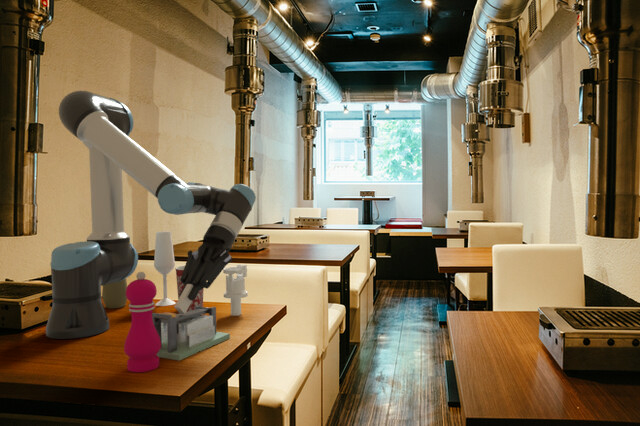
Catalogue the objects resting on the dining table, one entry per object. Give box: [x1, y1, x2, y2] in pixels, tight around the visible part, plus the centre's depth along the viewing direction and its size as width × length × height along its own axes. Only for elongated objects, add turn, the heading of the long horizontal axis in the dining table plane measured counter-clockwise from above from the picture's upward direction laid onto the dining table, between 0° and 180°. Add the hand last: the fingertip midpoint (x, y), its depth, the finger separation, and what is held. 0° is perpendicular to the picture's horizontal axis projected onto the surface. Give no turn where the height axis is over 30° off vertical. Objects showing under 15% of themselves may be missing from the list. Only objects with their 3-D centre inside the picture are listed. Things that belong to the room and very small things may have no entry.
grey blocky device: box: [152, 305, 217, 353], centre depth 115 cm, size 16×9×8 cm, turn 154°
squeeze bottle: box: [101, 278, 128, 309], centre depth 159 cm, size 8×8×18 cm
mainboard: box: [156, 331, 231, 361], centre depth 116 cm, size 18×11×1 cm, turn 154°
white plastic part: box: [222, 264, 248, 317], centre depth 146 cm, size 7×7×15 cm
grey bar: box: [159, 306, 210, 323], centre depth 116 cm, size 15×3×2 cm, turn 154°
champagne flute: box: [153, 230, 177, 307], centre depth 162 cm, size 7×7×24 cm
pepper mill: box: [123, 271, 161, 373], centre depth 101 cm, size 7×7×20 cm
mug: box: [174, 265, 205, 312], centre depth 155 cm, size 13×9×14 cm
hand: (179, 310), depth 113 cm, fingers closed
